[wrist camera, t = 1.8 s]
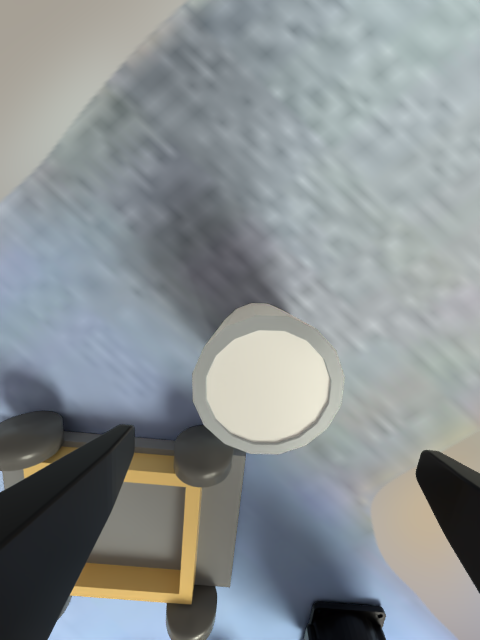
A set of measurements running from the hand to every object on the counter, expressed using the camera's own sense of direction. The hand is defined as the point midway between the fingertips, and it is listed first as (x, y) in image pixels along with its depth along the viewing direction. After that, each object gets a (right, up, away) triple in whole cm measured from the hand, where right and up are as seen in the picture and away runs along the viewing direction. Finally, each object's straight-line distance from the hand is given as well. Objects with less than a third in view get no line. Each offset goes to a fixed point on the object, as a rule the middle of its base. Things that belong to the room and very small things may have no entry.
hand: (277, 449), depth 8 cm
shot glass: (0, +3, +10) cm, 11 cm away
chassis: (-10, -11, +13) cm, 20 cm away
